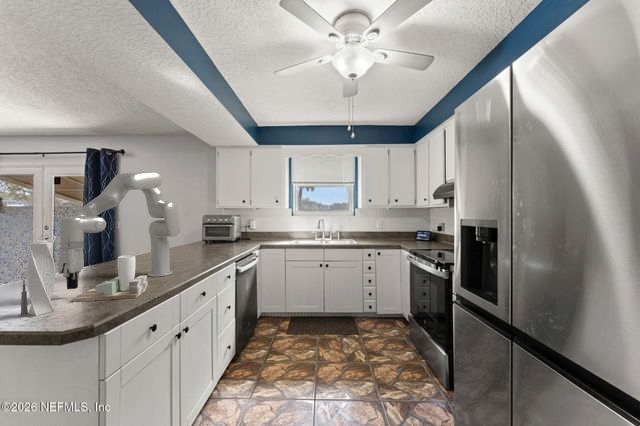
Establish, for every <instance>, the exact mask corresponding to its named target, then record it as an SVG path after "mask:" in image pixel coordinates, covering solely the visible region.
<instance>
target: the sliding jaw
mask: <svg viewBox="0 0 640 426" xmlns="http://www.w3.org/2000/svg"><path fill="white" fill-rule="evenodd" d="M95 288H96V294H101V293H104V295H109V294H113V293H115V292H117V291H118V290H120V285H119V276H115V277H114V278H112V279H110V280H105V281H102V282H100V283H98V284H97V285H95Z"/></svg>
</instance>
